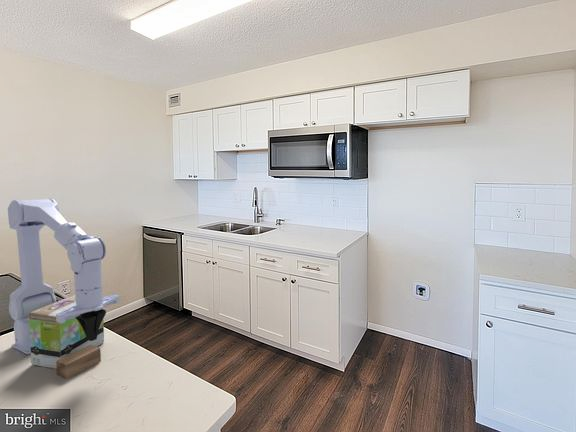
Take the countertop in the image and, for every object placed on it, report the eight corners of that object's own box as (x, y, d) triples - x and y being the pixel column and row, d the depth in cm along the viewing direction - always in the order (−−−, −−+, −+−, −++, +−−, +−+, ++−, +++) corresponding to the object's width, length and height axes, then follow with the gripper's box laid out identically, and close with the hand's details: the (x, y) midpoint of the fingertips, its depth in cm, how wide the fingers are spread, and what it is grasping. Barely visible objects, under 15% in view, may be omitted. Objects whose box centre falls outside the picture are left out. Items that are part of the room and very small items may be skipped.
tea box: (62, 370, 84) (58, 316, 82) (30, 365, 86) (26, 312, 84) (105, 342, 98) (103, 295, 97) (77, 338, 100) (75, 292, 99)
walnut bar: (57, 375, 82) (56, 360, 81) (91, 358, 90) (90, 344, 89) (67, 380, 80) (66, 364, 80) (100, 361, 88) (100, 347, 88)
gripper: (67, 299, 71) (70, 357, 73) (126, 281, 84) (128, 330, 86) (49, 293, 75) (53, 349, 76) (108, 277, 87) (111, 325, 89)
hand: (91, 339), depth 81 cm, fingers closed
